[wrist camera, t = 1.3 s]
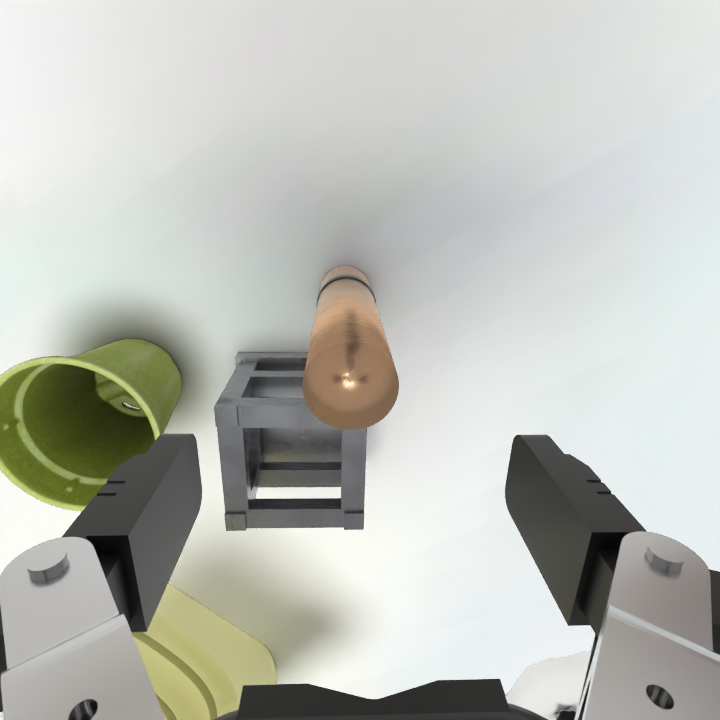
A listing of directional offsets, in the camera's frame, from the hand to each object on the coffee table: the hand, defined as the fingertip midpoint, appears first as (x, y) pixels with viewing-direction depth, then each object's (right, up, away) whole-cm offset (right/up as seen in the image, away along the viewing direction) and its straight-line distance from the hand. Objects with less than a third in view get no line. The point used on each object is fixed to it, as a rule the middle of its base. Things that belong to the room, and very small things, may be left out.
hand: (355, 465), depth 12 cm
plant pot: (-16, +1, +21) cm, 27 cm away
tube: (-1, +7, +20) cm, 21 cm away
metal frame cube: (-4, -1, +23) cm, 23 cm away
